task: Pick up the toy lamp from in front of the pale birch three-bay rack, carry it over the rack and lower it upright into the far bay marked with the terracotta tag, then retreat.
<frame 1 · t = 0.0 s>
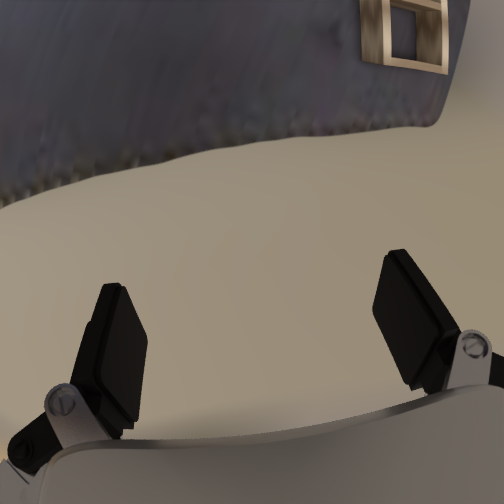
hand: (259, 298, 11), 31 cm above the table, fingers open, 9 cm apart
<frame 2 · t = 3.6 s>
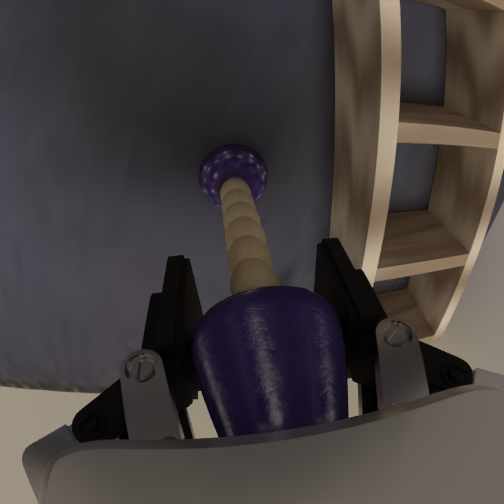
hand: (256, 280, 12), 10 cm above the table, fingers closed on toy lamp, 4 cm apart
toy lamp: (238, 175, 20), on the table, touching gripper
rack: (395, 166, 20), on the table
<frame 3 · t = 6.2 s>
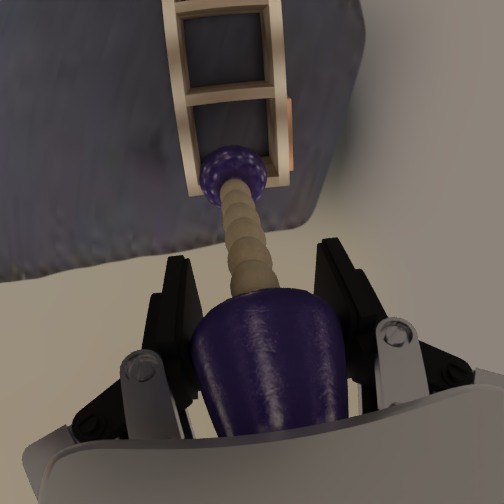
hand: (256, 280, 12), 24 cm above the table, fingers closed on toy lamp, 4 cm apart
toy lamp: (238, 176, 20), point 14 cm above the table, touching gripper
rack: (224, 49, 27), on the table
when the fingers open (11 cm above the table, at t = 9.0 s): toy lamp drops 1 cm, resting in rack.
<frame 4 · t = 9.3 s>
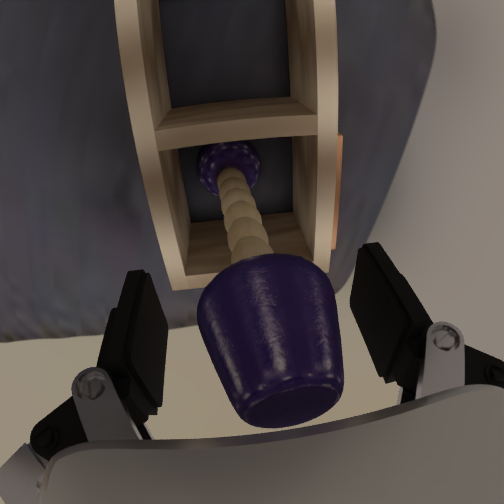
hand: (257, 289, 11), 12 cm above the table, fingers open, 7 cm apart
toy lamp: (233, 166, 21), resting in rack
rack: (225, 44, 16), on the table
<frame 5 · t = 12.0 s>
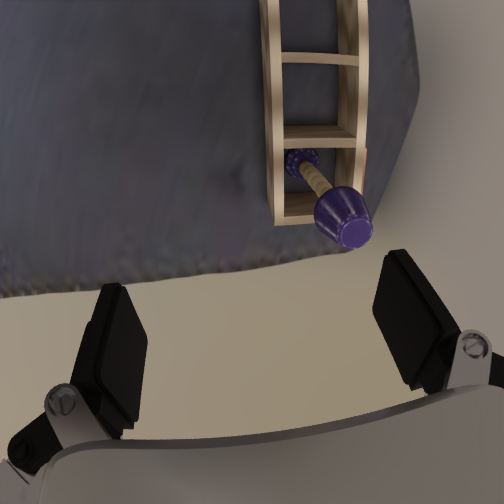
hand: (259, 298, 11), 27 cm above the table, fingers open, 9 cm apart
toy lamp: (303, 161, 37), resting in rack
rack: (306, 94, 32), on the table
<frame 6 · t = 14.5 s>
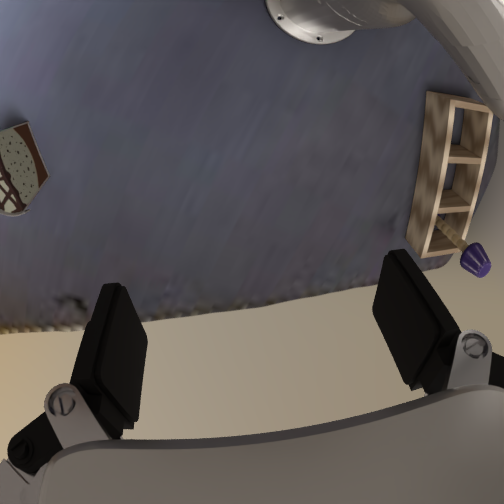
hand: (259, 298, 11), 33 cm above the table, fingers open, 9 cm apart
toy lamp: (429, 212, 50), resting in rack
food container: (25, 155, 37), on the table
rack: (439, 170, 45), on the table
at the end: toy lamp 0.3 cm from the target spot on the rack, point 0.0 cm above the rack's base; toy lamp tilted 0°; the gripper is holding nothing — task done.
